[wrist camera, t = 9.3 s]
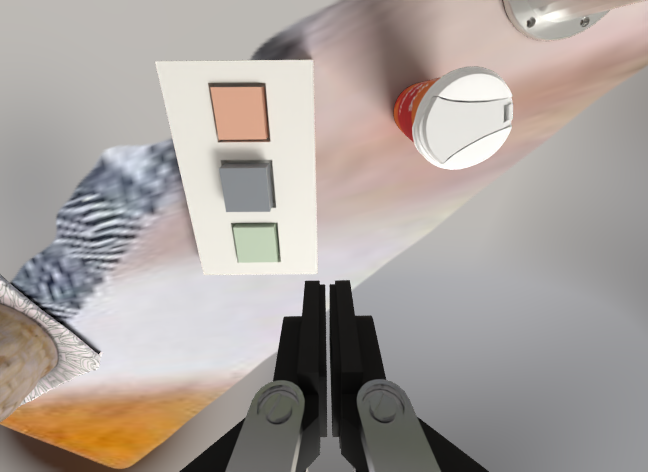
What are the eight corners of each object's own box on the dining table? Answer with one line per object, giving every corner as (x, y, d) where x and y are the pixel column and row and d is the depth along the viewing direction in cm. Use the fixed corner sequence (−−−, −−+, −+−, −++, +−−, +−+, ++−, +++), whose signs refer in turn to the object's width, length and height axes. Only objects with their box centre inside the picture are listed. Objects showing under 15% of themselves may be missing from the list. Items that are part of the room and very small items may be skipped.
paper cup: (447, 63, 33) (523, 50, 20) (452, 133, 36) (521, 159, 24) (377, 84, 34) (410, 84, 21) (389, 151, 37) (423, 184, 25)
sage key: (276, 219, 40) (273, 227, 38) (279, 253, 42) (277, 262, 40) (237, 220, 40) (233, 227, 38) (242, 253, 42) (238, 262, 40)
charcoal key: (269, 162, 35) (265, 168, 33) (273, 204, 37) (270, 211, 35) (225, 163, 35) (218, 168, 33) (231, 204, 37) (226, 212, 35)
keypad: (313, 61, 33) (312, 59, 30) (317, 262, 44) (317, 273, 42) (168, 63, 33) (154, 61, 30) (210, 263, 44) (203, 275, 42)
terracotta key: (264, 86, 33) (260, 86, 31) (269, 135, 35) (265, 139, 33) (217, 87, 33) (210, 87, 31) (225, 136, 35) (218, 139, 33)
